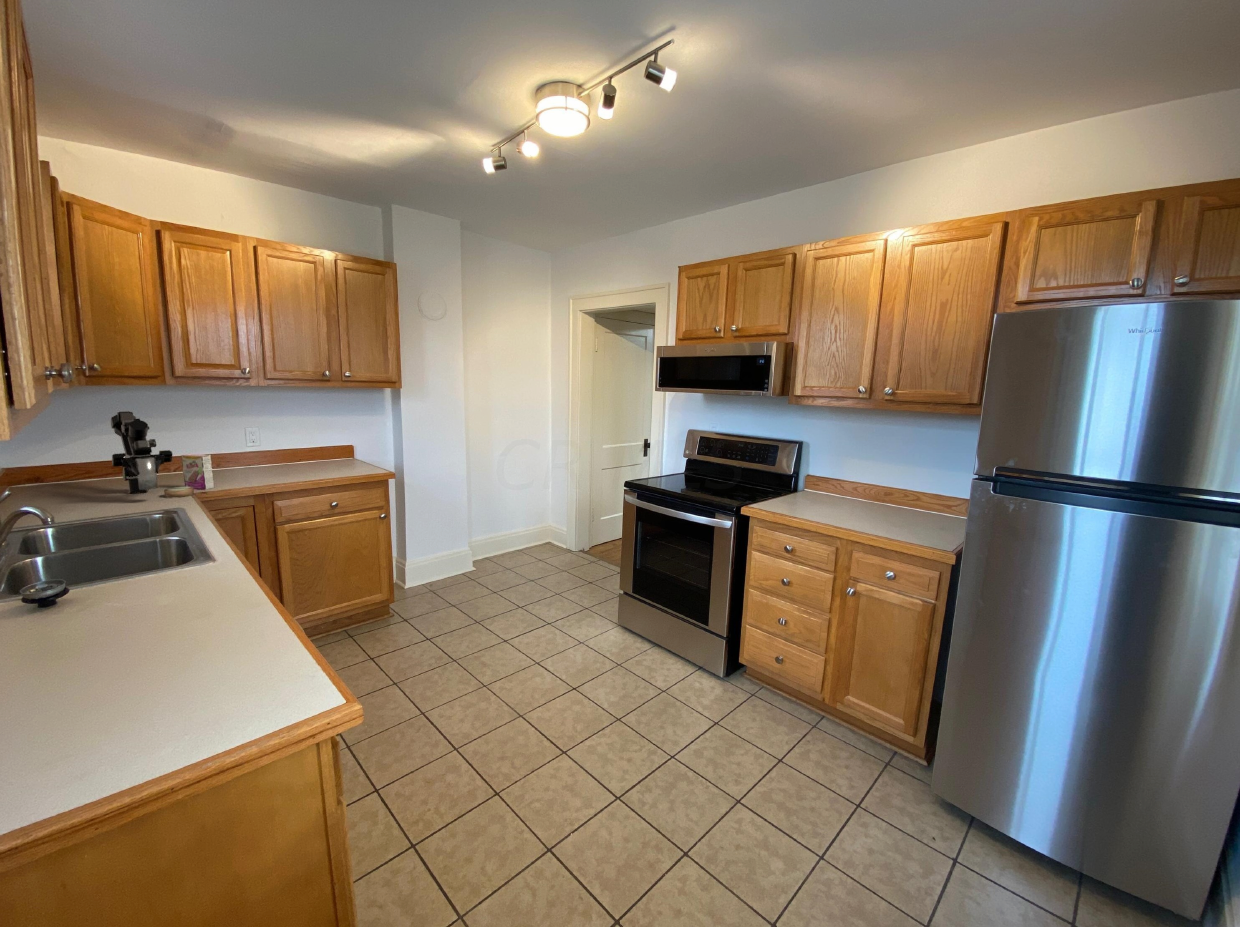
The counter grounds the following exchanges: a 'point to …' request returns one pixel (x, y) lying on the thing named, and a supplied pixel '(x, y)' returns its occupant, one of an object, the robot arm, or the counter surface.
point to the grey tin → (146, 473)
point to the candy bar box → (197, 471)
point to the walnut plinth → (179, 492)
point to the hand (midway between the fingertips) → (147, 473)
